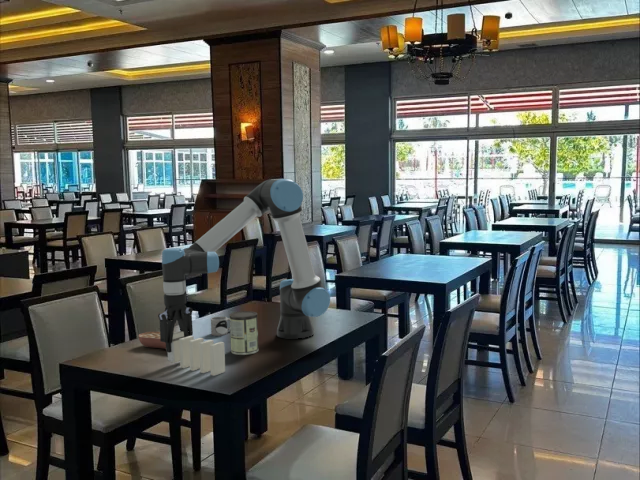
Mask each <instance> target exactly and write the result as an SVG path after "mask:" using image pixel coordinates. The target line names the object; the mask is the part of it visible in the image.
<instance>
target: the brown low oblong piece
mask: <svg viewBox="0 0 640 480" xmlns="http://www.w3.org/2000/svg"><path fill="white" fill-rule="evenodd" d="M138 340H139V343H140V344H141V345H142V346H144V347H145V348H146V347H147V348H151V349H153V348H154V349H163V350H166V343H165V342H161V341H160V331H146V332H143V333H140V334H138Z"/></svg>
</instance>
